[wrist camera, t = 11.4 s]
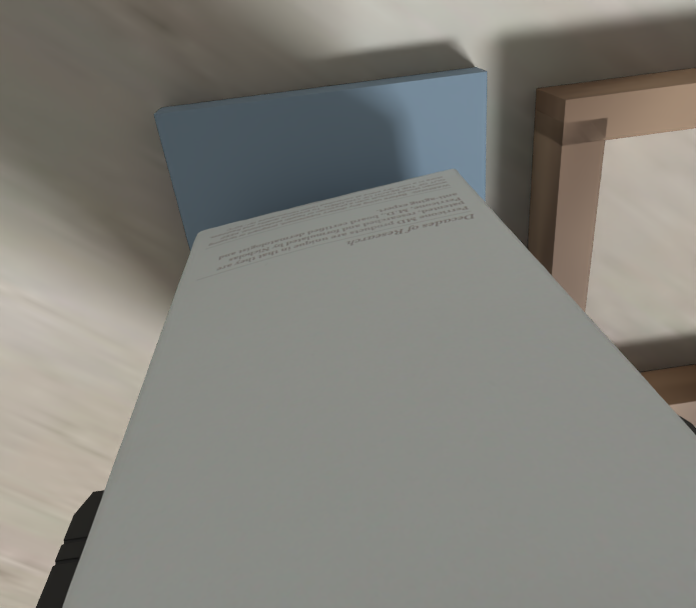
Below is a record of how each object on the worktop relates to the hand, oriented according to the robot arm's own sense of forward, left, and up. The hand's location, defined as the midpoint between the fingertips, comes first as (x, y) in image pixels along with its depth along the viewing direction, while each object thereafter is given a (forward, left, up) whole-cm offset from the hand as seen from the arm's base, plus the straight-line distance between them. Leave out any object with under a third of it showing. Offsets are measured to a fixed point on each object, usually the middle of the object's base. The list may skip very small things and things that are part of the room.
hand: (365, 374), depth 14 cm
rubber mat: (0, 0, -6) cm, 6 cm away
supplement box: (0, 0, -3) cm, 3 cm away
